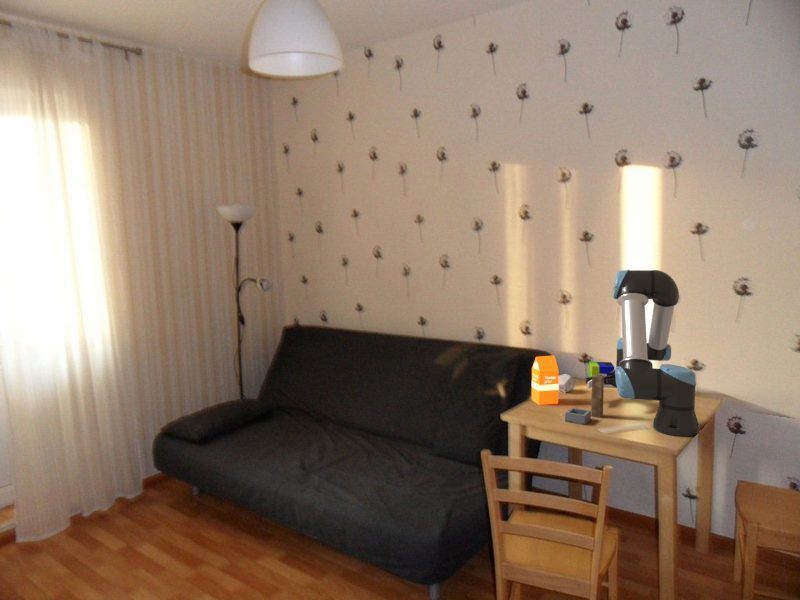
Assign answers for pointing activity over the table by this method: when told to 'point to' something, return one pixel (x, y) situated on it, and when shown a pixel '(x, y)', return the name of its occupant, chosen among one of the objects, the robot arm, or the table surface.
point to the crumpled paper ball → (565, 383)
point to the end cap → (578, 416)
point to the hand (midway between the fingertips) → (604, 388)
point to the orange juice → (545, 380)
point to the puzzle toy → (601, 370)
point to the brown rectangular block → (597, 396)
